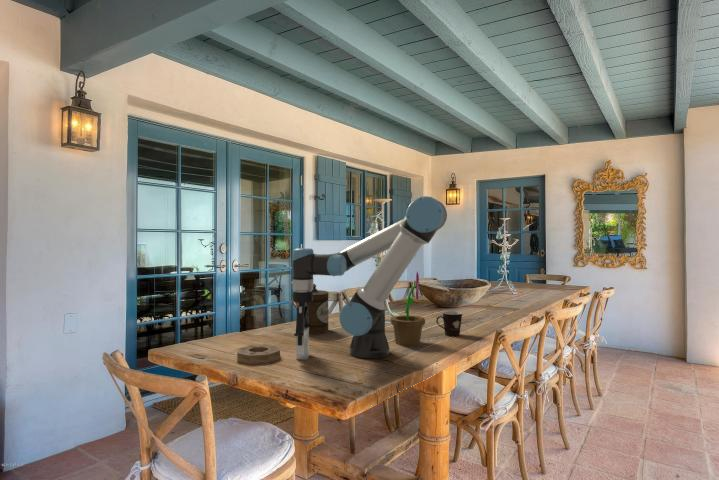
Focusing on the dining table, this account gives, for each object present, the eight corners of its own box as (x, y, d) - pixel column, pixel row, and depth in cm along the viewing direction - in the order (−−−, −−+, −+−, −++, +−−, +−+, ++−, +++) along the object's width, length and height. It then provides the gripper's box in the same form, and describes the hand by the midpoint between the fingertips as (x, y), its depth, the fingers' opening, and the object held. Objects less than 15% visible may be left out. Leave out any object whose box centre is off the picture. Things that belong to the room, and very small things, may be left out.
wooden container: (326, 334, 202) (327, 285, 202) (293, 334, 203) (293, 285, 202) (329, 327, 217) (329, 282, 217) (298, 327, 217) (299, 281, 217)
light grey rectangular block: (308, 356, 167) (308, 326, 167) (307, 359, 163) (307, 329, 163) (297, 356, 167) (297, 326, 167) (296, 359, 163) (296, 329, 163)
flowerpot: (423, 348, 180) (424, 272, 179) (388, 346, 183) (388, 272, 182) (425, 339, 194) (426, 269, 193) (392, 338, 197) (392, 269, 196)
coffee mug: (460, 333, 207) (460, 311, 207) (463, 337, 198) (463, 314, 198) (435, 332, 208) (435, 310, 208) (436, 336, 199) (436, 314, 199)
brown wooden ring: (287, 355, 168) (287, 347, 168) (259, 366, 155) (259, 357, 155) (257, 350, 176) (257, 342, 176) (228, 359, 163) (228, 351, 163)
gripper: (297, 286, 177) (296, 340, 178) (287, 295, 153) (286, 358, 153) (316, 286, 177) (315, 340, 178) (309, 295, 153) (309, 358, 153)
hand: (302, 349), depth 165 cm, fingers open, 12 cm apart
